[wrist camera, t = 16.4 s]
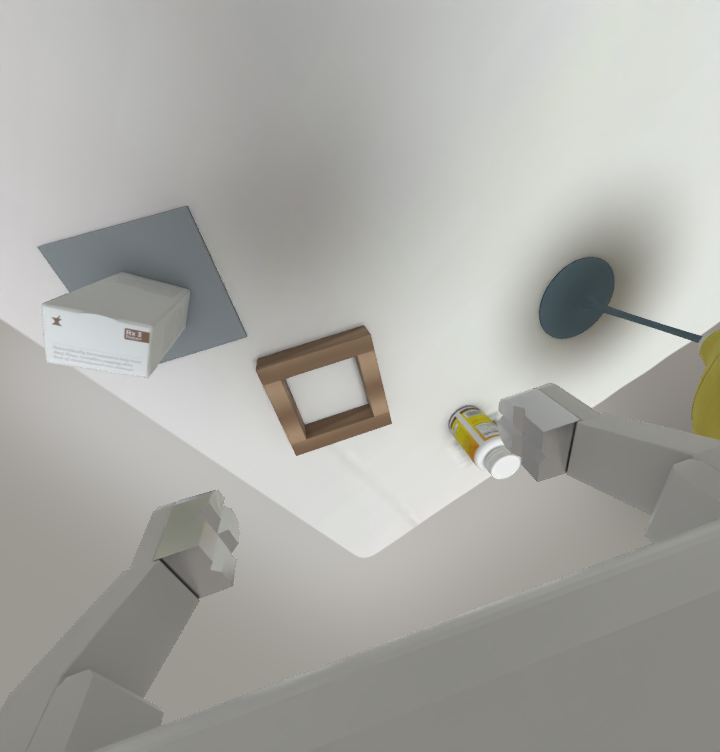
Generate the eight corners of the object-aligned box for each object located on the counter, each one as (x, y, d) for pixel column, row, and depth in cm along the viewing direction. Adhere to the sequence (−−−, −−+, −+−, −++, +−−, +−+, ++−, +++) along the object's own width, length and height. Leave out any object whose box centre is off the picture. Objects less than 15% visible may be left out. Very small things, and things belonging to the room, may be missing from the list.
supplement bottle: (458, 440, 50) (497, 490, 41) (441, 421, 47) (477, 470, 38) (487, 418, 49) (532, 465, 40) (471, 397, 46) (515, 442, 38)
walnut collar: (257, 358, 37) (255, 370, 34) (364, 325, 37) (370, 334, 35) (295, 441, 43) (296, 455, 41) (385, 410, 44) (391, 423, 41)
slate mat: (40, 246, 28) (37, 246, 27) (187, 206, 29) (186, 206, 28) (129, 371, 34) (127, 373, 34) (247, 335, 35) (246, 336, 35)
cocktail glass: (492, 352, 43) (700, 496, 22) (557, 207, 36) (971, 208, 14) (589, 368, 49) (833, 496, 27) (663, 244, 41) (1080, 287, 20)
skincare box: (120, 313, 31) (38, 367, 21) (121, 267, 29) (33, 301, 19) (189, 328, 33) (147, 384, 23) (194, 286, 31) (151, 326, 21)
